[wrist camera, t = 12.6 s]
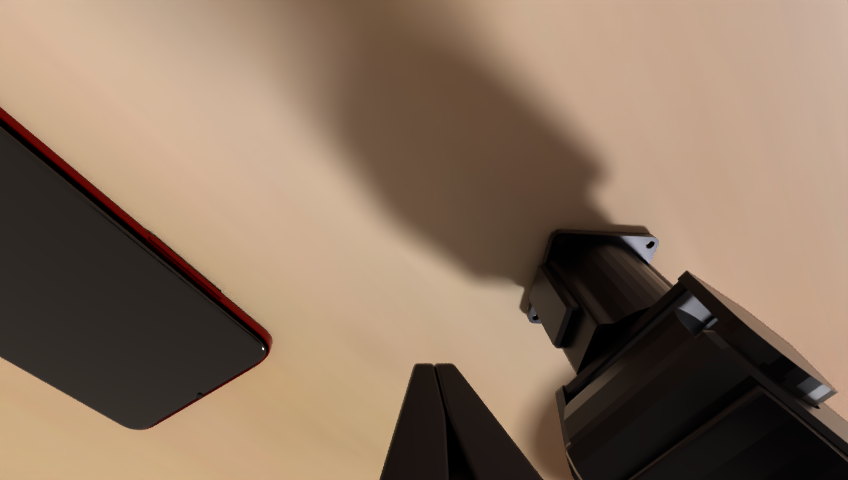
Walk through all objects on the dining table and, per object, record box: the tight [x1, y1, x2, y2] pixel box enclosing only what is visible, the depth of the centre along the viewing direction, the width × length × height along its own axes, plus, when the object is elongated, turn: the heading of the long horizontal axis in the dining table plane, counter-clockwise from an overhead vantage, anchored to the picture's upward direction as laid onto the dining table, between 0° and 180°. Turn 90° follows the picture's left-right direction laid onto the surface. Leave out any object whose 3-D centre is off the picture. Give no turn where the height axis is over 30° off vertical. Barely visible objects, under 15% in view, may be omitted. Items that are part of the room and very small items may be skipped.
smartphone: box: [0, 107, 273, 430], centre depth 20 cm, size 12×2×25 cm
